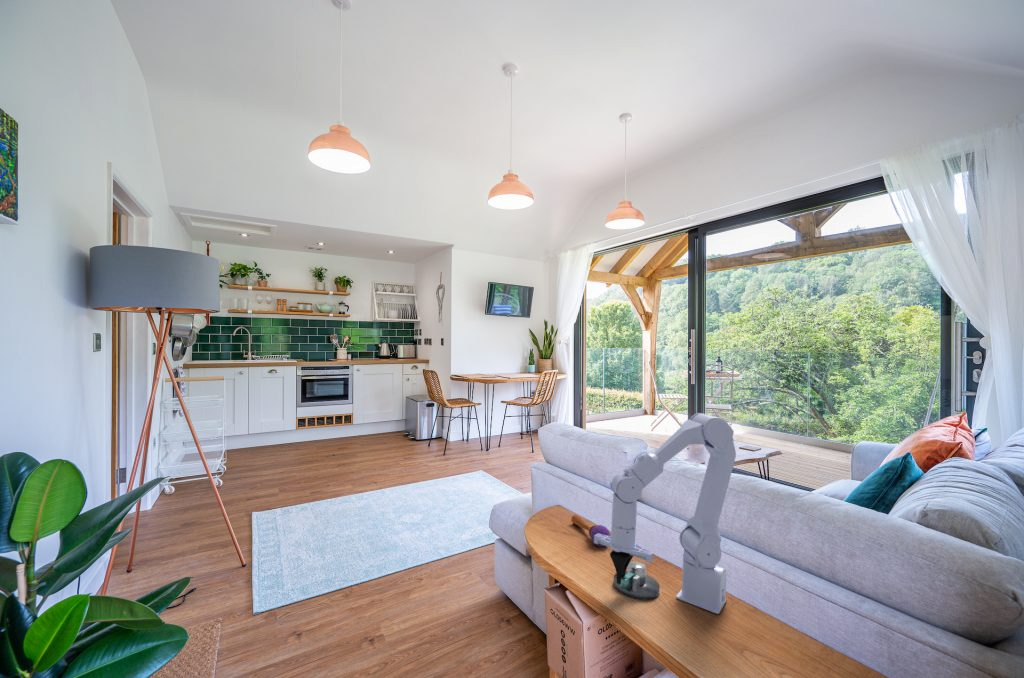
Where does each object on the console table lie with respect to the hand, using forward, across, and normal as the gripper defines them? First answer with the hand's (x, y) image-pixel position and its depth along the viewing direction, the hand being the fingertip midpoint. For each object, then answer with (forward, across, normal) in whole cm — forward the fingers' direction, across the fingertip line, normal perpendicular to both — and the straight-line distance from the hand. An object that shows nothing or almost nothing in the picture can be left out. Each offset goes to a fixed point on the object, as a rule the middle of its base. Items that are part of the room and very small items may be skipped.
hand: (620, 582), depth 103 cm
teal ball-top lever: (+1, +1, +3) cm, 4 cm away
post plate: (+3, +1, +6) cm, 7 cm away
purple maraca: (+3, -24, +26) cm, 35 cm away
